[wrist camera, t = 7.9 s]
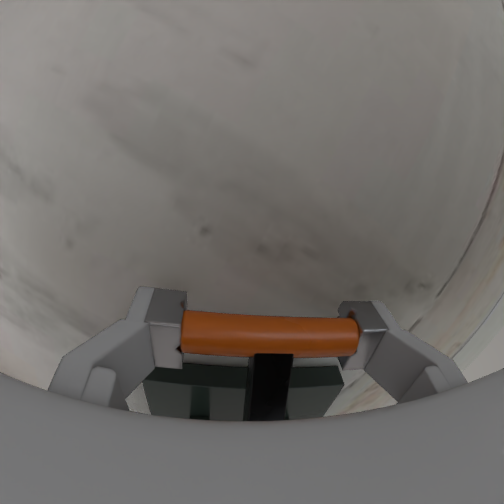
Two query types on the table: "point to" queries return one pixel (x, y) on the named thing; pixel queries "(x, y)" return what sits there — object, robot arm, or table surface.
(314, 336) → the switch lever
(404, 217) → the table surface
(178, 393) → the switch bracket
